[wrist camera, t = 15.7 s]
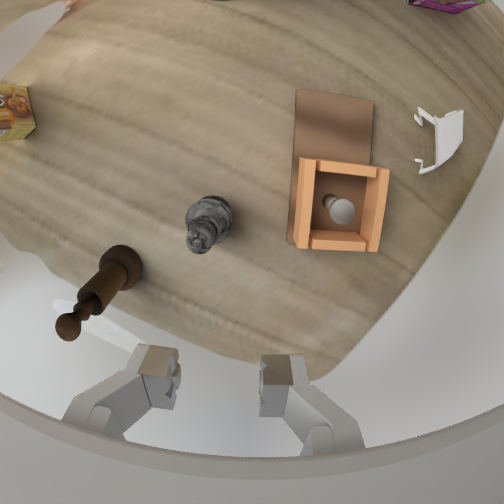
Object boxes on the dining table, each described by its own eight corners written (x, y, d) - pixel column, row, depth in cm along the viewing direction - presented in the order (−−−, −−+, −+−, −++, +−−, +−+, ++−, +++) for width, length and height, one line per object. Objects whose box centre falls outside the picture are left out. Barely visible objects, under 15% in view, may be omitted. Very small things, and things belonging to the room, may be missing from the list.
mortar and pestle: (141, 288, 42) (90, 366, 25) (105, 278, 41) (45, 347, 25) (143, 249, 40) (83, 319, 23) (105, 240, 39) (34, 299, 22)
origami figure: (412, 90, 31) (430, 85, 26) (453, 113, 31) (472, 112, 27) (396, 165, 35) (413, 169, 30) (438, 183, 36) (457, 189, 31)
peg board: (295, 90, 32) (306, 78, 25) (368, 102, 32) (393, 95, 25) (286, 239, 39) (293, 261, 32) (354, 243, 39) (374, 264, 32)
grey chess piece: (235, 194, 37) (227, 217, 26) (233, 237, 39) (226, 276, 28) (191, 192, 37) (164, 215, 25) (191, 235, 39) (167, 273, 28)
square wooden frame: (299, 157, 33) (305, 158, 30) (376, 166, 34) (389, 169, 30) (293, 237, 37) (297, 248, 33) (366, 241, 37) (377, 252, 34)
